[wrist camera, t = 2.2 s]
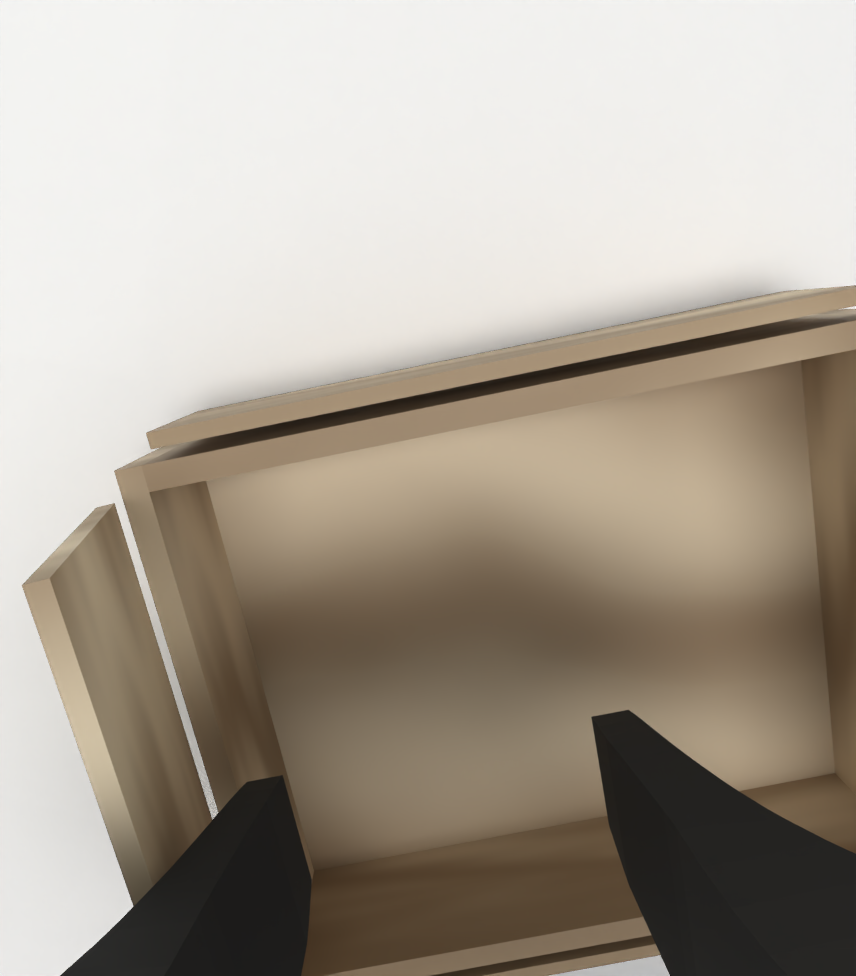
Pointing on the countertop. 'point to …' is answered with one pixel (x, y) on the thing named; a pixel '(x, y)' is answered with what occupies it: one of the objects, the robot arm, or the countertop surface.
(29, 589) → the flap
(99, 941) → the robot arm
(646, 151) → the countertop surface
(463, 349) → the countertop surface
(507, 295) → the countertop surface
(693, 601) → the carton
